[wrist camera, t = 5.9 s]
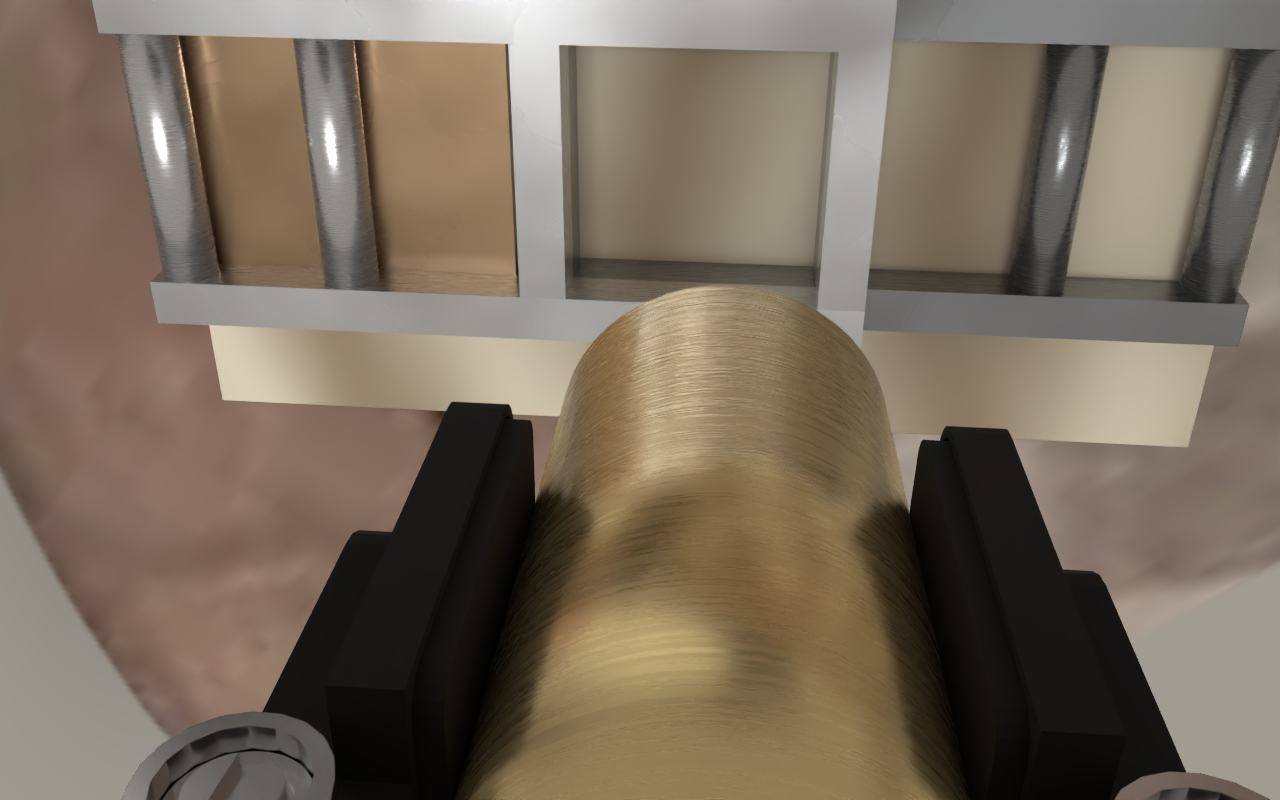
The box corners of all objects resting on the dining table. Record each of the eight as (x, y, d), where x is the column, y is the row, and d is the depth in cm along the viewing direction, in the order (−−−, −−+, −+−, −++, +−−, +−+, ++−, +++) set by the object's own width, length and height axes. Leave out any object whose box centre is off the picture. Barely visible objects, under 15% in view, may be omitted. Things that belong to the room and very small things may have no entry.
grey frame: (1307, -14, 24) (1332, -3, 23) (1219, 323, 28) (1238, 346, 27) (526, -31, 25) (516, -21, 24) (539, 294, 29) (530, 315, 28)
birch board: (1333, -202, 23) (1356, -200, 23) (1175, 426, 30) (1187, 447, 29) (133, -214, 25) (111, -212, 24) (237, 381, 32) (222, 400, 31)
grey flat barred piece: (887, -39, 25) (899, -18, 23) (851, 319, 28) (859, 366, 26) (140, -54, 26) (85, -36, 24) (203, 292, 30) (160, 334, 28)
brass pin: (907, 291, 12) (1190, 1240, 5) (870, 577, 14) (1028, 1623, 6) (558, 277, 13) (251, 1156, 5) (563, 559, 14) (344, 1549, 6)
